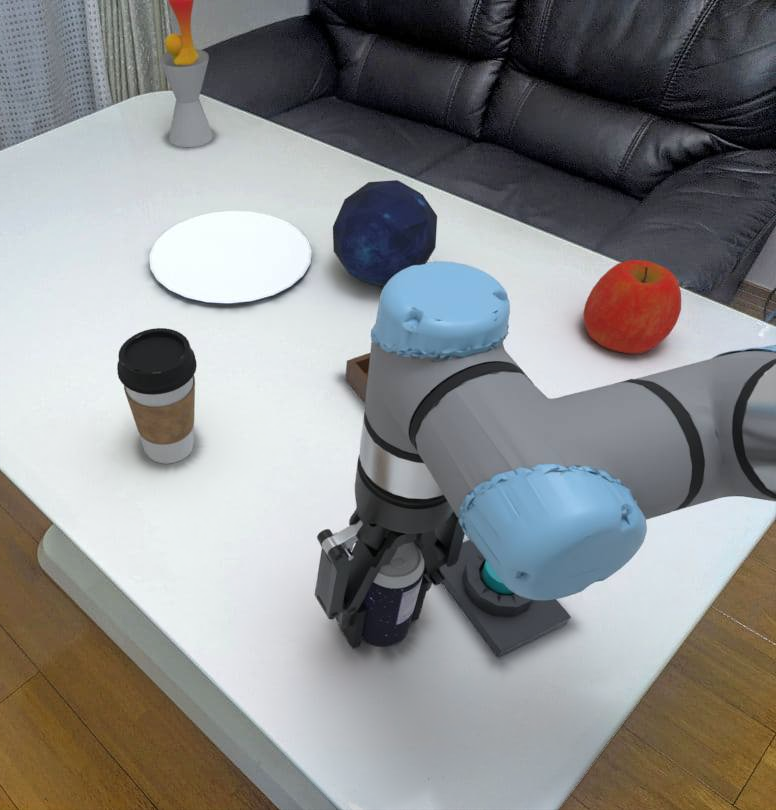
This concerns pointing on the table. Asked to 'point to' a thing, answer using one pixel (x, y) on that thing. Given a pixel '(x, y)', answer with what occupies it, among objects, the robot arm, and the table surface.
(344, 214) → the decorative orb
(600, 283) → the apple
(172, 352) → the coffee cup
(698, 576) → the table surface
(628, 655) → the table surface
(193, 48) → the lava lamp
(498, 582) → the button
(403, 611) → the beverage can
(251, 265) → the plate
